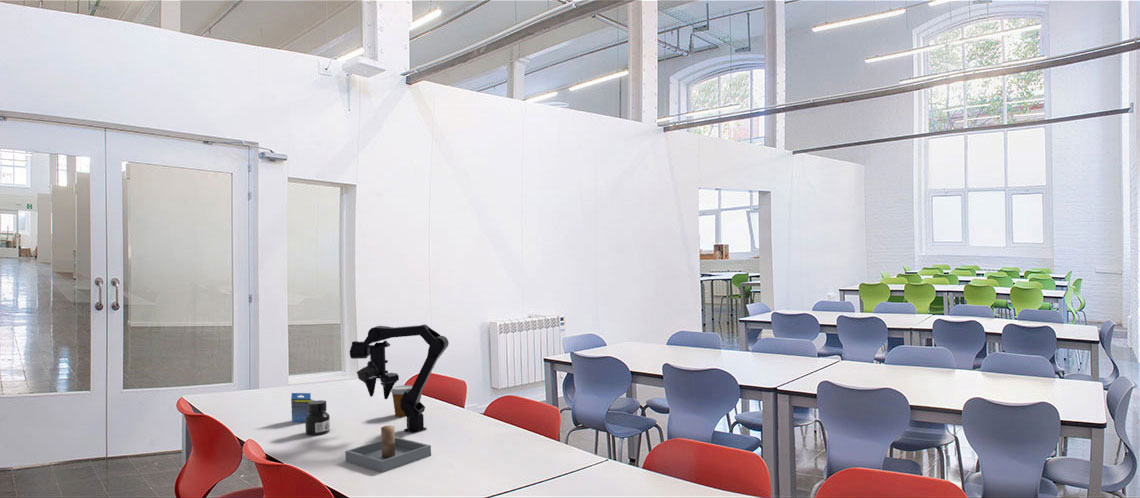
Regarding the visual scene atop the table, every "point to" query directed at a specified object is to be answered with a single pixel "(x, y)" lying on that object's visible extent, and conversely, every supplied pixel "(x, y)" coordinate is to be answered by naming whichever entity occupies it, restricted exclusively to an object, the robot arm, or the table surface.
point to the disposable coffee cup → (399, 398)
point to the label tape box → (300, 406)
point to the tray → (373, 458)
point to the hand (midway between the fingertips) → (378, 397)
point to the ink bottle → (317, 418)
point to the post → (388, 441)
